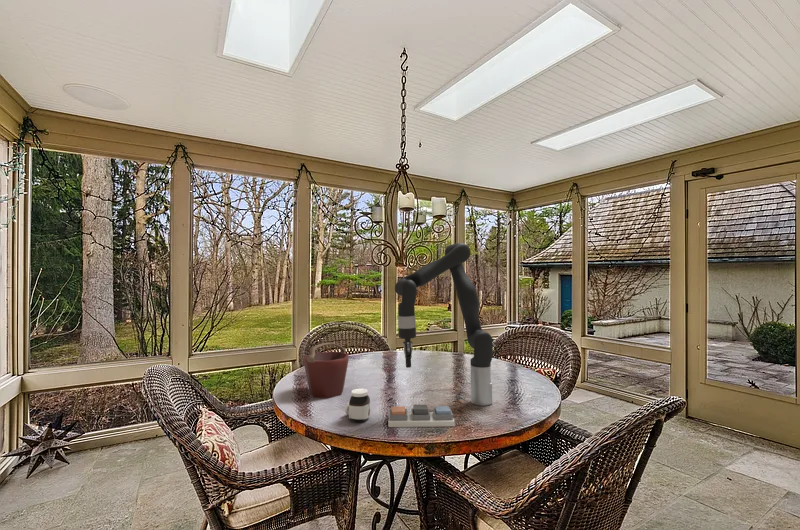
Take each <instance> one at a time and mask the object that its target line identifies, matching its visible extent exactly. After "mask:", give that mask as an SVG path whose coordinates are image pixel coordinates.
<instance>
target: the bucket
mask: <svg viewBox="0 0 800 530" xmlns="http://www.w3.org/2000/svg"><path fill="white" fill-rule="evenodd" d="M328 345H332V346H335V347H337V348H338V349H339V350H340V351H323V352H322V351H321V352H316V350H317V349H319V348H321V347H324V346H328ZM349 355H350V354H349V353H346V349H345V348H344V346H342V345H340V344H338V343H334V342H323V343H319V344H316V345H313V346H312V347H310V348H309V354H307V355H304V356H303V365H304V371H305V375H306V381H307V386H308V390H309V394H310V395H311V396H312V398H314V399H315V398H317V399H319V398H320V399H330V398H335V397H340V396H341V395H342V394H343V393H344V392H343V391H344V388H345V383H346V382H345V381H346V376H347V371H348V365H349V358H350V357H349Z"/></svg>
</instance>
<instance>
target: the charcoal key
mask: <svg viewBox="0 0 800 530" xmlns="http://www.w3.org/2000/svg"><path fill="white" fill-rule="evenodd" d="M412 405H413V406H412V407H413V408H412V409H413V411H414V415H428V409H429V408H428V404H412Z"/></svg>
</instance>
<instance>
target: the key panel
mask: <svg viewBox="0 0 800 530" xmlns="http://www.w3.org/2000/svg"><path fill="white" fill-rule="evenodd" d="M410 410H411V411H410V412H408V408H405V411H406V415H392V408H389V412H388V421H387V422H388V425H387V427H388V428H432V427H433V428H434V427H435V428H437V427H439V428H440V427H456V425H455V419H454V414H453V412H452V409H451V408H450V411H451V414H444V415H436V413H435V408H432V411H431V412H430V408H428V415H414V411H413V408H411V409H410Z"/></svg>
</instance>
